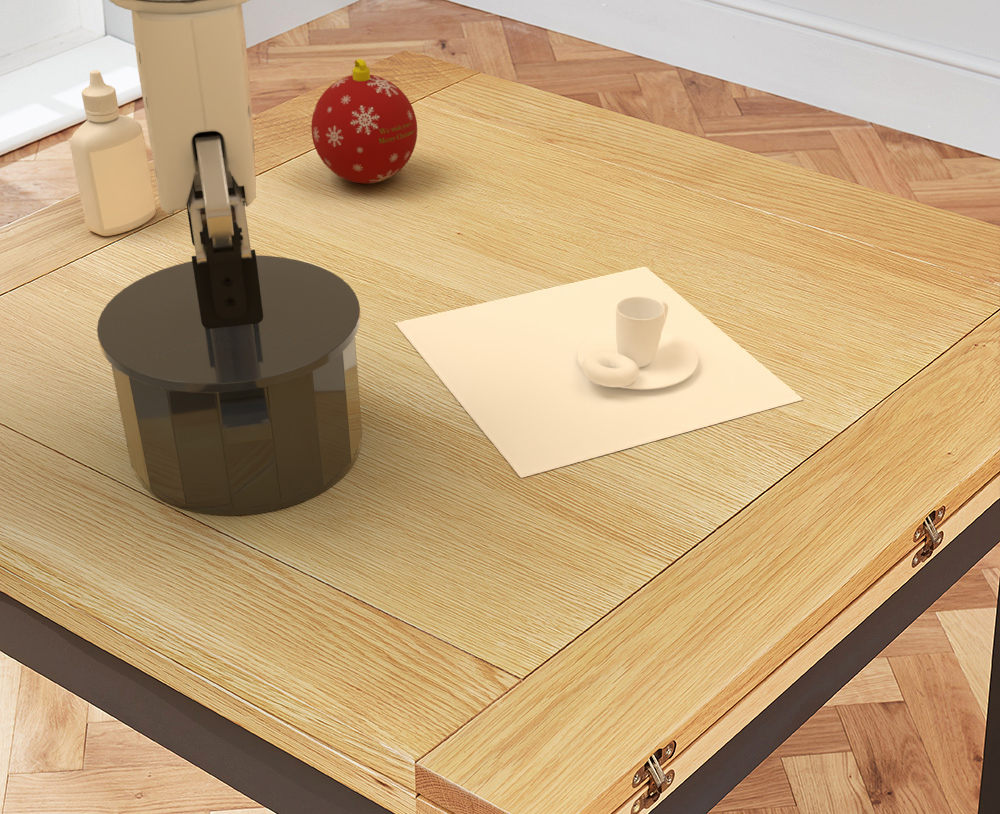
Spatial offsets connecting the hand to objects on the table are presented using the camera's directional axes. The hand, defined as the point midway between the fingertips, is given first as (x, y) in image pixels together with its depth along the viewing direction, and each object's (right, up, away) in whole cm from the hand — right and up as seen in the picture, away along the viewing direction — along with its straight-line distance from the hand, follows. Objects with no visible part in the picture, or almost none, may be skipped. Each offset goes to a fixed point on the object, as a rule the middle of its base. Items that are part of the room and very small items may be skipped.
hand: (226, 281), depth 75 cm
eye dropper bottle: (-14, +9, +31) cm, 36 cm away
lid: (0, -2, +2) cm, 3 cm away
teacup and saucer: (+21, -3, +15) cm, 26 cm away
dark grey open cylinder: (0, -9, +7) cm, 11 cm away
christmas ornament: (+4, +15, +38) cm, 41 cm away
